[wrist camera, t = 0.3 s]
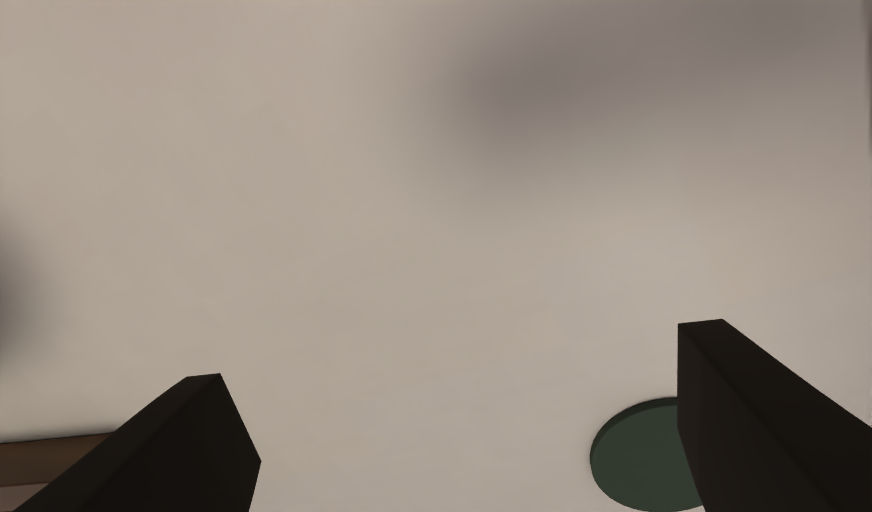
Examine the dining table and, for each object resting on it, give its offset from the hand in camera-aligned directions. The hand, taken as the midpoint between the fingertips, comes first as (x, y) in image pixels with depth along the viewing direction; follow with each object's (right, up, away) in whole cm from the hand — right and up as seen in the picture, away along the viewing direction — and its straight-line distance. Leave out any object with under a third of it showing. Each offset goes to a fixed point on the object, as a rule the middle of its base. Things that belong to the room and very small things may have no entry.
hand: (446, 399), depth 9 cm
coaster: (+9, -6, +14) cm, 17 cm away
